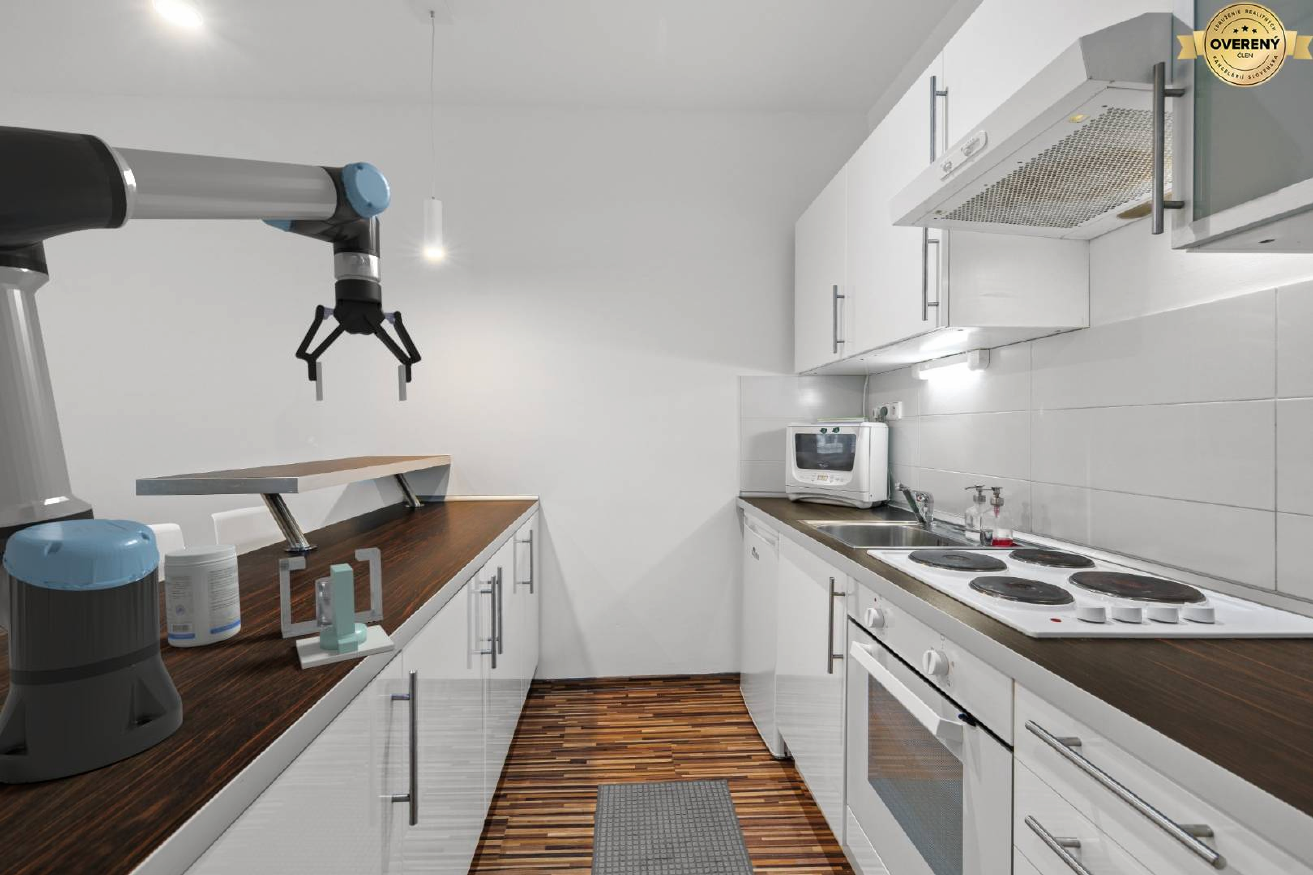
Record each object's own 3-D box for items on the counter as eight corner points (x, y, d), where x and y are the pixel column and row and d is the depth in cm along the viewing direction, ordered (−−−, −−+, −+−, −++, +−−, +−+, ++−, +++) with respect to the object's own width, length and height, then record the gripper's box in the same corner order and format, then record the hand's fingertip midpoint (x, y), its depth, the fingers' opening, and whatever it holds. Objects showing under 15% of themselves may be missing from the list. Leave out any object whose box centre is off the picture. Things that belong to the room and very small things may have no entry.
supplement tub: (238, 625, 105) (235, 541, 105) (243, 638, 97) (240, 548, 97) (166, 638, 99) (163, 549, 99) (166, 654, 91) (163, 557, 91)
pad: (302, 669, 83) (302, 663, 83) (296, 645, 93) (296, 640, 93) (394, 649, 90) (394, 644, 90) (379, 629, 100) (379, 624, 100)
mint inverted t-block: (316, 637, 94) (314, 564, 94) (361, 629, 98) (358, 559, 98) (324, 657, 85) (321, 577, 85) (372, 647, 89) (370, 570, 89)
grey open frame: (283, 638, 97) (280, 563, 97) (281, 630, 101) (279, 558, 101) (383, 619, 106) (380, 550, 105) (377, 613, 110) (375, 546, 110)
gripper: (277, 268, 98) (282, 398, 98) (435, 285, 112) (439, 399, 112) (275, 279, 104) (280, 401, 104) (425, 293, 118) (429, 401, 118)
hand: (362, 400), depth 108 cm, fingers open, 13 cm apart
